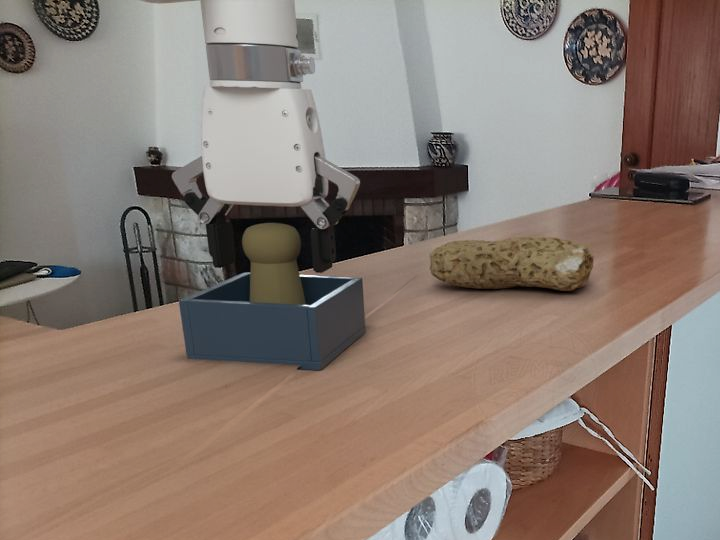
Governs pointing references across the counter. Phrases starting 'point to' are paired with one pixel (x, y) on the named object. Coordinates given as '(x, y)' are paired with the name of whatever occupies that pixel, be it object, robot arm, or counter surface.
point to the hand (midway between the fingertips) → (274, 267)
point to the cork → (273, 263)
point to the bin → (274, 323)
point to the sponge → (513, 263)
